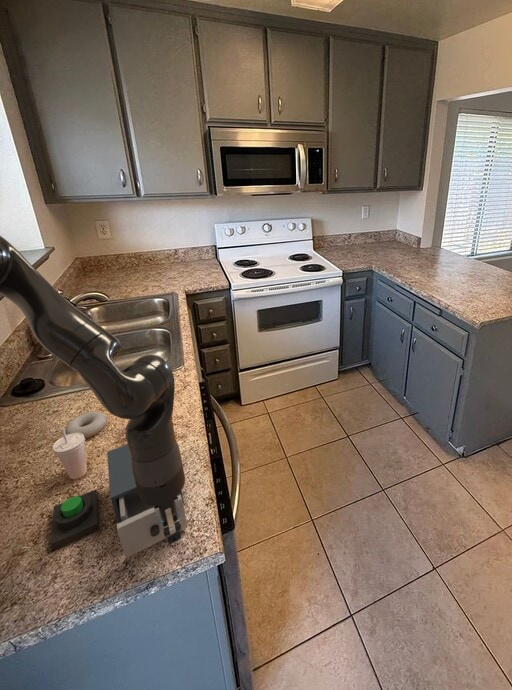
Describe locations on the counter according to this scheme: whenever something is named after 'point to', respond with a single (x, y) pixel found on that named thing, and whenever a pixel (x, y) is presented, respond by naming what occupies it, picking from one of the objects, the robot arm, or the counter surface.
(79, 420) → the donut
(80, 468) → the smoothie
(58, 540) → the control block
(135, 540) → the drawer
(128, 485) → the cabinet
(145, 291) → the counter surface
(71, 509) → the button
